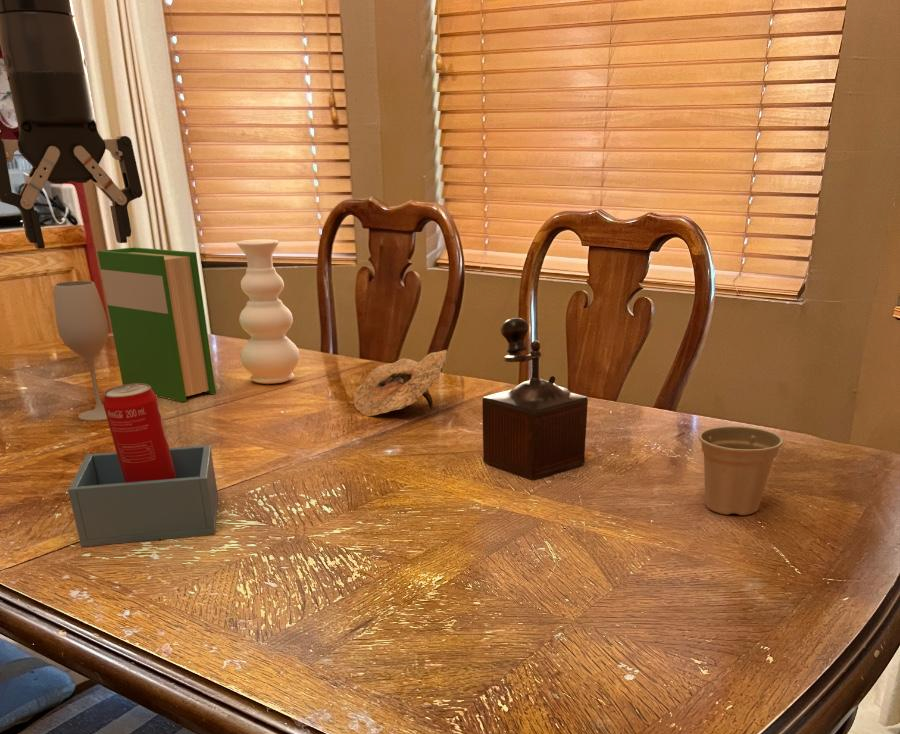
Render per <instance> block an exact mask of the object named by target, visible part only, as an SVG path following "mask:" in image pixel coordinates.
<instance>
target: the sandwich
mask: <svg viewBox="0 0 900 734" xmlns="http://www.w3.org/2000/svg"><path fill="white" fill-rule="evenodd" d="M447 350H448V349H442V350H439V351H434V352H430V353H428V354H427V355H426V356H425V357H423V358H422V359H421V360H420V361H416V360H413V359H409V358H406V357H405V358H400V359H398V360H396V361H394V362H391V363H385V364H381V365H379V366H376V367H374V369H373V370H372V371H371V372H370V373H368V375H367V376H366V378H365V379H364V381H363V382H362V384H360V385H359V386H358V387H357V389H356V390H355V392H354V394H353V396H352V398H354V399H353V400H354V401H353V402H354V403H353V405H354V407H355V409H356V410H357V411H358V412H360V414H362V415H364V416H366V417H368V416H370V417H372V416H377V415H380V414H386V413H389V412H393V411H397V410H403V409H405V408H407V407H409V406H410V405H412V404H414V403H415V402H416V401H417V400H419V398H420V397H421V396H422V397H423V398H424V399H425V400H426V402H427V405H428V408H429V410H431V409H433V405H434V401H433V400H434V399H433V397H432V395H431V393H430V391H429V389H430V388H432V387H433V385H434V384H435V383H436V382H437V381H438V379H440V375H441V371H442V370H443V367H444V364H445V361H447V358H446V356H447V354H448V351H447Z"/></svg>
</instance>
